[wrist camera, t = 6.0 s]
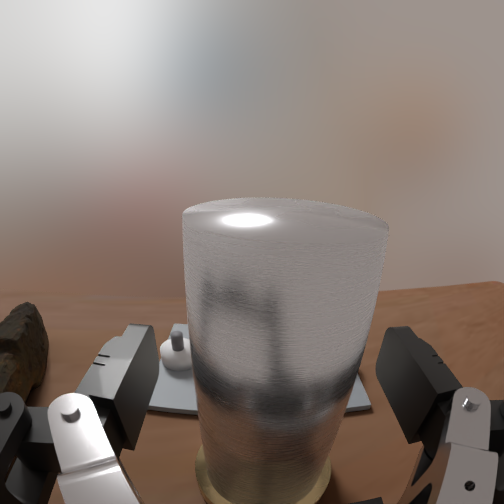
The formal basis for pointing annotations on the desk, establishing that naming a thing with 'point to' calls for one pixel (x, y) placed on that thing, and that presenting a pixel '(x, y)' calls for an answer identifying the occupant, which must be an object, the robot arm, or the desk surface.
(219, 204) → the clear glass cylinder
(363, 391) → the board
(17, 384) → the hand tool
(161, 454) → the desk surface
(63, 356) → the desk surface
